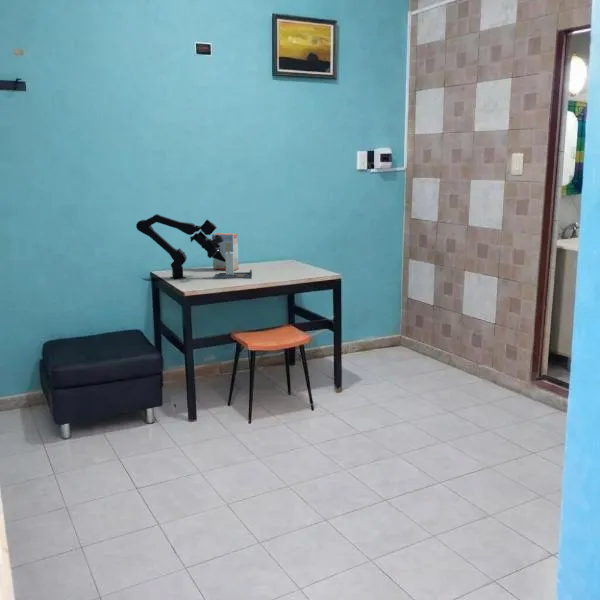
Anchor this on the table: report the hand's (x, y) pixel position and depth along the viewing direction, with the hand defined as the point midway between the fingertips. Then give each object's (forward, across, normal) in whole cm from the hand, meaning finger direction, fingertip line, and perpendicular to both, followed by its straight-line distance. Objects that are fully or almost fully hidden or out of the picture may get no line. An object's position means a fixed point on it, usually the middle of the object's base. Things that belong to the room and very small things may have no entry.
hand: (225, 261), depth 351 cm
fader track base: (+9, 0, +3) cm, 10 cm away
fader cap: (+7, 0, +4) cm, 8 cm away
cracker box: (+5, +26, +7) cm, 27 cm away
